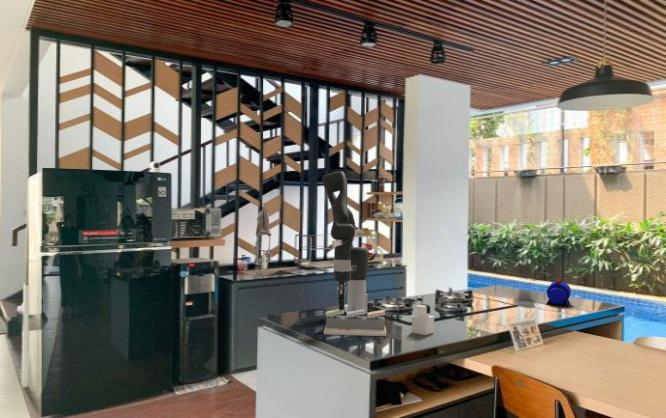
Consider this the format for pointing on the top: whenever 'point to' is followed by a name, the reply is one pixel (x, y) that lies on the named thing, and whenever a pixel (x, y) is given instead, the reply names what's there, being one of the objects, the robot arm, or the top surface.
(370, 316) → the beige flat panel
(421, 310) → the medicine bottle
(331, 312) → the plate
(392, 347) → the top surface
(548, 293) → the alarm clock
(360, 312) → the pale grey-blue box
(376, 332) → the switch panel
